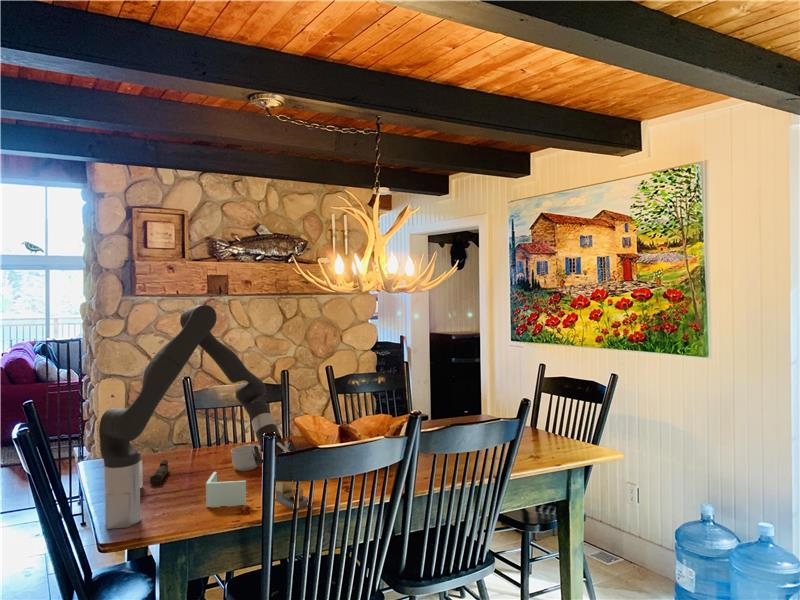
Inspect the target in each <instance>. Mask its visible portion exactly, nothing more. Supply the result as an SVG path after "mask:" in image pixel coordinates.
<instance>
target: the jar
mask: <svg viewBox="0 0 800 600" xmlns="http://www.w3.org/2000/svg"><path fill="white" fill-rule="evenodd" d="M137 451H138V453H139V474H140V489H142V488H143V460H142V452H141V451H139V450H137Z"/></svg>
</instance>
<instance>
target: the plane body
mask: <svg viewBox="0 0 800 600" xmlns="http://www.w3.org/2000/svg"><path fill="white" fill-rule="evenodd" d="M295 489H296V488H293V492H290V493H286V494H283V495H281V494H280V493H278V492H276V500H275V501H276V502H278V503H279V504H281V505H282V506H284V507H286V508H288V509H290V510H291V511H294V510H293V504H294V496H295ZM307 503H308V497H307V496H305V495H304V488H300V491H299V509H303V508H306V507H308V506H307Z"/></svg>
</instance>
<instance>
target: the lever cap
mask: <svg viewBox="0 0 800 600" xmlns="http://www.w3.org/2000/svg"><path fill="white" fill-rule="evenodd" d="M293 483H294V482H293V481H292V482H276V485H275V491H276V492H278V493H280V494H281V495H283V494H286V493H290V492H293V489H294V487H293V485H294V484H293Z"/></svg>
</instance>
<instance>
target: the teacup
mask: <svg viewBox="0 0 800 600" xmlns="http://www.w3.org/2000/svg"><path fill="white" fill-rule="evenodd" d="M254 446H258V447H260V445H259V444H250V443H248V444H247V445H245V444H244V445H239V446H236V447H234V448H232V449H231V450H230V454H231V462H232V466H233V468H234V469H236V470H237V471H239V472H247V471H251V470H254V469H256V468H257V467H258V465H256V463H255V460H254V456H253V453H252V450H253V448H254Z"/></svg>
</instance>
